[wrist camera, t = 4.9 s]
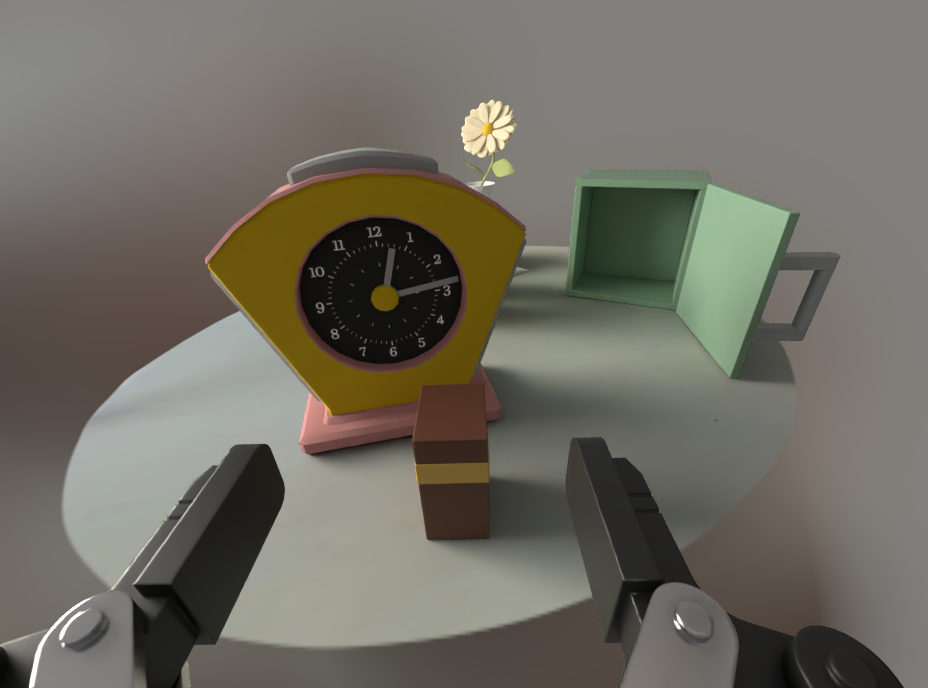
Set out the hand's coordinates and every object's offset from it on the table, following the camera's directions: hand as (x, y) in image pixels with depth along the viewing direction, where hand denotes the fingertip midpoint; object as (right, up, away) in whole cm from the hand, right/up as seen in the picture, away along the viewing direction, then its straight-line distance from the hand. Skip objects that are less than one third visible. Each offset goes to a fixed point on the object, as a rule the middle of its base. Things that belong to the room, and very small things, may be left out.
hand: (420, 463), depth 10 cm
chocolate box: (+1, -8, +16) cm, 18 cm away
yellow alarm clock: (-5, -3, +26) cm, 27 cm away
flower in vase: (+5, +17, +58) cm, 61 cm away
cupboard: (+25, +11, +47) cm, 54 cm away
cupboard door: (+31, +4, +33) cm, 45 cm away
